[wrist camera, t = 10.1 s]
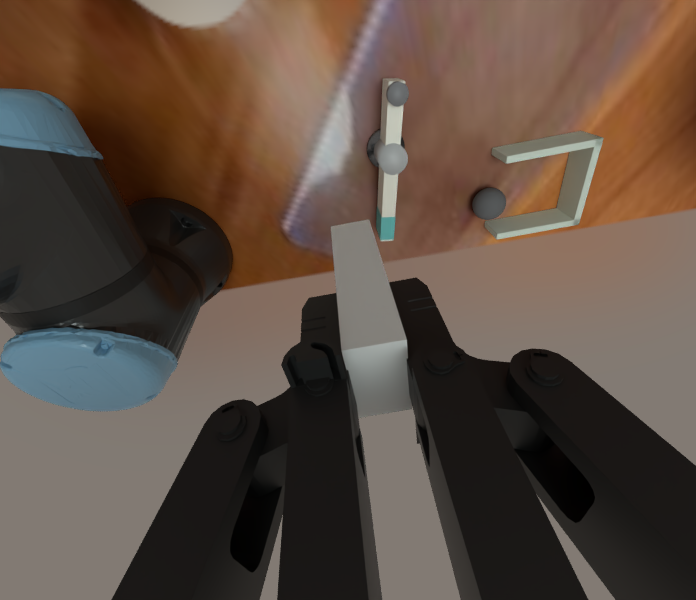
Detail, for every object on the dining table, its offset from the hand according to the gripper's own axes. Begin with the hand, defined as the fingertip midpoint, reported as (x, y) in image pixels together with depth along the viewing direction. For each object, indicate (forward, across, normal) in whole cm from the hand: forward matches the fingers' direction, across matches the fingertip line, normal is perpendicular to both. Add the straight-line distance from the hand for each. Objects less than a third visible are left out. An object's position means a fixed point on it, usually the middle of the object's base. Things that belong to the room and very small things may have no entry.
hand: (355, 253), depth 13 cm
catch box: (+30, +24, -12) cm, 41 cm away
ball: (+30, +19, -14) cm, 38 cm away
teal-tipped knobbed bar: (+29, +6, -5) cm, 31 cm away
